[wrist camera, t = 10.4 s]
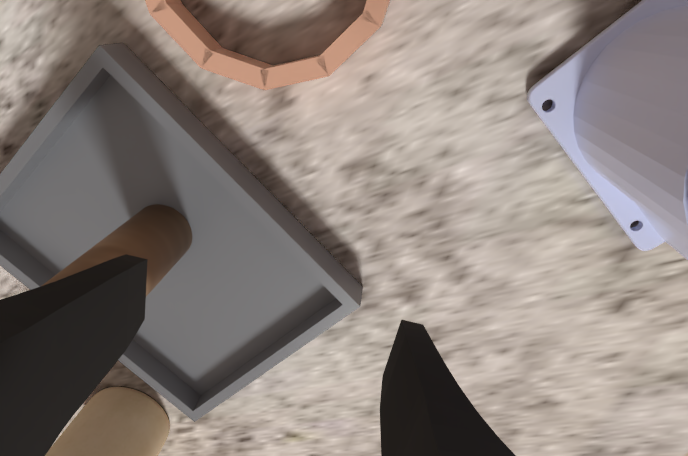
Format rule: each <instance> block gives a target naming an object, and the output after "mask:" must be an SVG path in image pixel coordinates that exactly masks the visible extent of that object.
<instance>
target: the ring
mask: <svg viewBox="0 0 688 456" xmlns="http://www.w3.org/2000/svg"><path fill="white" fill-rule="evenodd" d="M145 1H146V4H147V7H148V10H149V13H151V14H150V15H151V16H152V17H153V18H154V19H155V20H156V21H157V22H158V23H159V24H160V25H161V26H162V27H163V28H164V29H165V30H166V32H167V33H168V34H169V35H170V36H171V37H172V38H173V39H174V40H175V41H176V42H177V43H178V44H179V45H180V46H181V47H182V48H183V50H184V51H185V52H186V53H187V54H188V55H189V56H190V57H191V58H192V59H193V60H194V61H195V62H196V63H197V64H198V65H199V66H200V68H202V69H205V70H208V71H211V72H214V73H216V74H219V75H222V76H225V77H228V78H231V79H234V80H237V81H240V82H243V83H245V84H248V85H251V86H254V87H257V88H260V89H263V90H268V89H272V88H277V87H281V86H286V85H291V84H295V83H300V82H304V81H309V80H314V79H318V78H323V77H327V76H330V75H331V74H332V73H333V72H334V71H335V70H336V69H337V68H338V67H339V66H340V65H341V64H342V63H344V62H345V61H346V60H347V59H348V58H349V57H350V56H351V55H352V54H353V53H354V52H355V51H356V50H357V49H358V48H359V47H360V46H361V45H362V44H363V43H364V42H365V41H366V40H368V39H369V38H370V37H371V36H372V35H373V34H374V33H375V32H376V31H377V30H378V29H379V28H380V27H381V26H382V24H383V21H384V18H385V15H386V12H387V9H388V5H389V2H390V0H367V1H366V4H365V7H364V11H363V14H362V15H361V16H360V17H359V18H358V19H357V20H356V21H355V22H353V23H352V24H351V25H350V26H349V27H348V28H347V29H346V30H345V31H344V32H343V33H342V34H341V35H340V36H339V37H338V38H337V39H336V40H335V41H334V42H333V43H332V44H331V45H330V46H329V47H328V48H327V49H326V50H325V51H324V52H323V53H322V54H321V55H317V56H313V57H308V58H304V59H300V60H295V61H291V62H286V63H282V64H278V65H270V64H267V63H265V62H262V61H259V60H256V59H253V58H250V57H247V56H244V55H242V54H239V53H236V52H233V51H230V50H227V49H224V48H222V47H221V46H220V45H219V44H218V42H217V41H216V40H215V39H214V38H213V37H212V36H211V35H210V34H209V33H208V32H207V31H206V29H205V28H204V27H203V26H202V25H201V24H200V23H199V22H198V21H197V20H196V19H195V17H194V16H193V15H192V14H191V13H190V12H189V11H188V10H187V9H186V8H185V7H184V5H183V4H182V2H181V0H145Z"/></svg>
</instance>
